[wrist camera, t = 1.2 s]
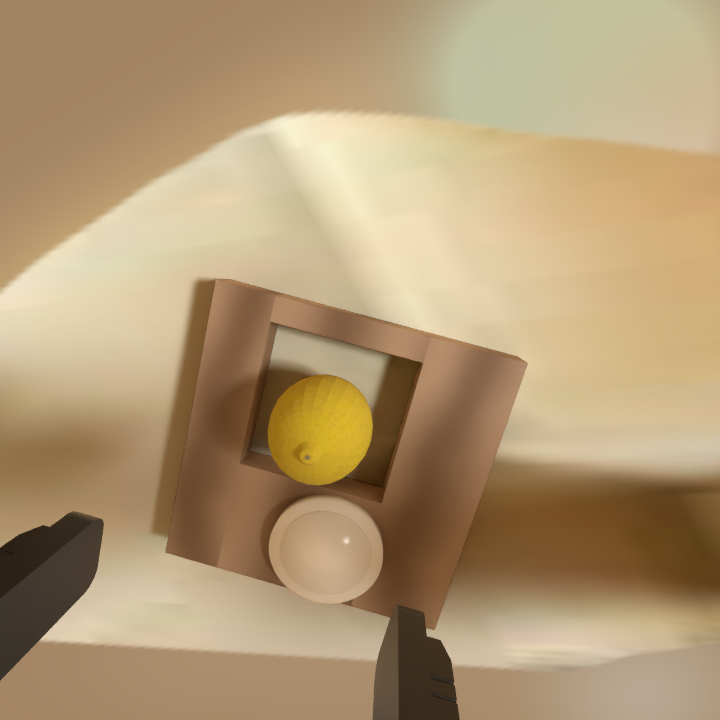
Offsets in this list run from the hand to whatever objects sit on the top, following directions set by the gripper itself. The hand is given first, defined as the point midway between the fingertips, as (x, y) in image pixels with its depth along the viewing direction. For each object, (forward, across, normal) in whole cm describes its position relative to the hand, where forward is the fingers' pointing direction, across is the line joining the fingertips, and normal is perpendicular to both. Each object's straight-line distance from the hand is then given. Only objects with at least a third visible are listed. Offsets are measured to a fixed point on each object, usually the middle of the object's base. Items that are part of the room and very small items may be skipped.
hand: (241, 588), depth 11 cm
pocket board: (+16, -1, +3) cm, 17 cm away
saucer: (+14, -2, +8) cm, 17 cm away
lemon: (+17, 0, 0) cm, 17 cm away
